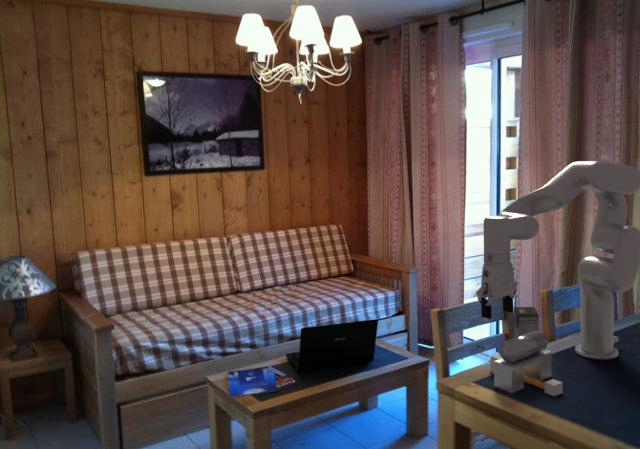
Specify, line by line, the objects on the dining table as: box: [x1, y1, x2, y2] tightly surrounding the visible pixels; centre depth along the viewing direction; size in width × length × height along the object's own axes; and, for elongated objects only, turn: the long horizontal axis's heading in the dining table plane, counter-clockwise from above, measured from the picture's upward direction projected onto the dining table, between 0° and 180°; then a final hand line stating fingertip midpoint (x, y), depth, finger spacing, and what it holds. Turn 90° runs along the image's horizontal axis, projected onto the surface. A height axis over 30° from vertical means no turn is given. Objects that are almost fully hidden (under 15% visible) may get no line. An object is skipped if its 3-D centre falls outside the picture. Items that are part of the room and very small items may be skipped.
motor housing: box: [493, 330, 552, 394], centre depth 162 cm, size 18×6×14 cm, turn 124°
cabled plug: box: [488, 352, 563, 397], centre depth 163 cm, size 4×24×5 cm, turn 30°
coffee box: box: [513, 306, 539, 338], centre depth 179 cm, size 9×6×16 cm
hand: (497, 314), depth 168 cm, fingers open, 9 cm apart
